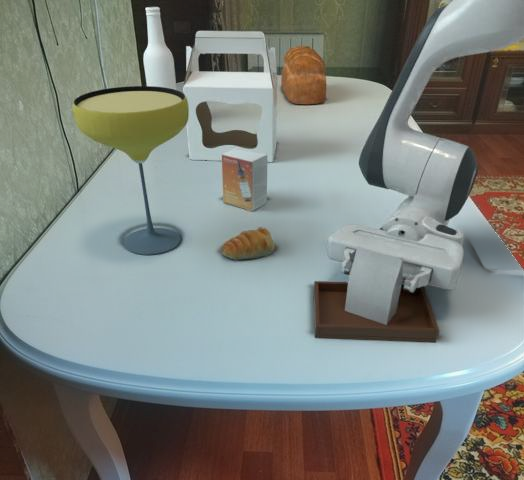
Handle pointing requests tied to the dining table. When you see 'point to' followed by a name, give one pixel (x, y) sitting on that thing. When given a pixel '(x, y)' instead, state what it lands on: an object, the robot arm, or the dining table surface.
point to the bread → (303, 76)
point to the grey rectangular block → (374, 285)
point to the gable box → (230, 95)
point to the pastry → (249, 245)
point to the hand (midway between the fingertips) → (376, 278)
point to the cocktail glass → (135, 139)
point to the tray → (357, 327)
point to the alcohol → (158, 54)
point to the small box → (244, 178)
